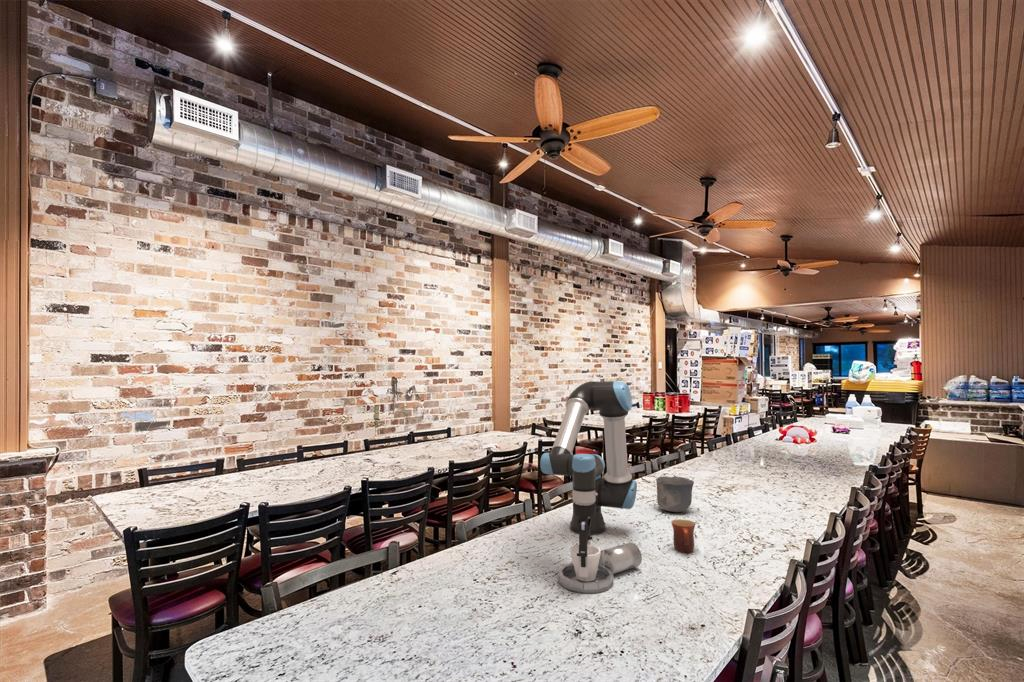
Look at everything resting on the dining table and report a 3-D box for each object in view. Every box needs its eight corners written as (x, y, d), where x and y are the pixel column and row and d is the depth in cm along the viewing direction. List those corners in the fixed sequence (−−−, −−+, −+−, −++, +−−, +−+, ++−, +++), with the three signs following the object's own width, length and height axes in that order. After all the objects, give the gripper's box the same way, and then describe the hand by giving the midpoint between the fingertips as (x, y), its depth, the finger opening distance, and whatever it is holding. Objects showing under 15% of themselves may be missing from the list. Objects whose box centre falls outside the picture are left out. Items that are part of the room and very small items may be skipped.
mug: (670, 545, 196) (670, 518, 196) (694, 546, 194) (693, 519, 194) (674, 556, 184) (673, 528, 184) (699, 558, 182) (698, 529, 183)
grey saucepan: (582, 599, 151) (582, 572, 152) (547, 578, 167) (546, 553, 167) (653, 575, 168) (652, 550, 168) (615, 557, 183) (614, 535, 184)
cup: (573, 570, 170) (573, 542, 170) (603, 574, 167) (602, 546, 167) (567, 582, 160) (566, 553, 161) (598, 587, 157) (598, 557, 158)
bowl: (699, 509, 242) (698, 478, 243) (690, 519, 228) (689, 486, 228) (662, 504, 252) (661, 474, 253) (651, 513, 237) (651, 481, 238)
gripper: (593, 514, 152) (594, 585, 151) (597, 493, 176) (598, 554, 175) (568, 512, 154) (569, 583, 153) (576, 492, 178) (577, 553, 177)
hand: (585, 568), depth 164 cm, fingers open, 13 cm apart
